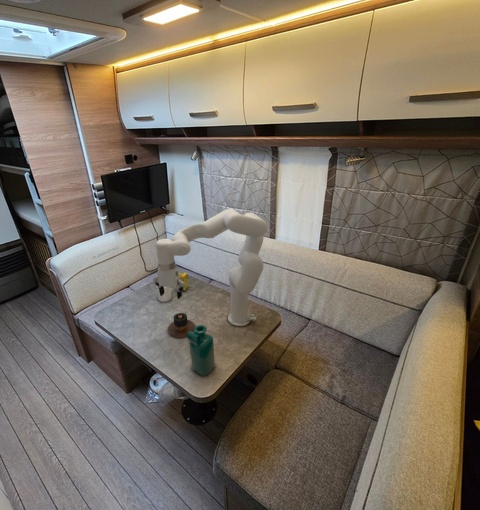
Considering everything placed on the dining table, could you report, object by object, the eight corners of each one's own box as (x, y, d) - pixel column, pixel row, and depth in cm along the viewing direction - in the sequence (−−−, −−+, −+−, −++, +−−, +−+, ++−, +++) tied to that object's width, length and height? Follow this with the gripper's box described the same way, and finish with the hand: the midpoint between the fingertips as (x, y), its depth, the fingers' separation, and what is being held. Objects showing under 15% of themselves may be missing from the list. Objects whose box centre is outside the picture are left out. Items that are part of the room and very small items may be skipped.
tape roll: (189, 320, 150) (188, 313, 148) (184, 328, 144) (183, 322, 142) (177, 317, 152) (176, 311, 150) (172, 326, 146) (171, 319, 144)
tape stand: (198, 323, 153) (197, 310, 150) (188, 340, 141) (187, 327, 138) (175, 319, 158) (173, 306, 154) (163, 335, 146) (161, 322, 142)
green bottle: (202, 357, 130) (199, 319, 121) (216, 365, 125) (214, 326, 116) (188, 370, 124) (183, 331, 114) (202, 379, 119) (198, 339, 109)
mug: (166, 291, 185) (164, 277, 181) (177, 293, 182) (175, 279, 177) (155, 300, 175) (153, 286, 171) (166, 303, 172) (164, 289, 168)
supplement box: (176, 290, 185) (175, 275, 181) (180, 285, 190) (179, 271, 186) (184, 291, 183) (183, 277, 179) (188, 287, 188) (187, 273, 184)
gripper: (187, 263, 130) (190, 294, 137) (155, 259, 136) (159, 289, 144) (179, 271, 124) (183, 303, 131) (146, 266, 130) (151, 297, 137)
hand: (171, 295), depth 137 cm, fingers open, 9 cm apart
